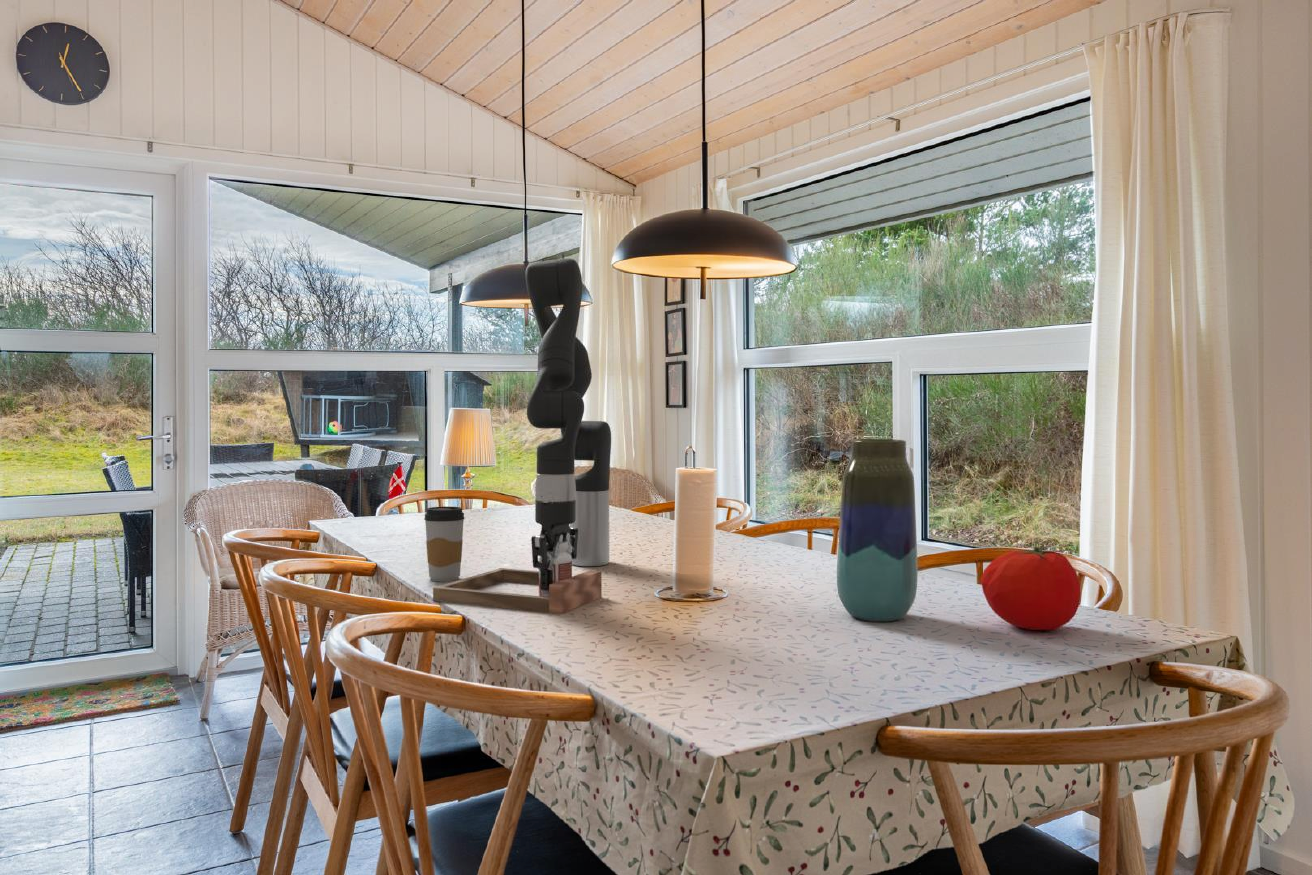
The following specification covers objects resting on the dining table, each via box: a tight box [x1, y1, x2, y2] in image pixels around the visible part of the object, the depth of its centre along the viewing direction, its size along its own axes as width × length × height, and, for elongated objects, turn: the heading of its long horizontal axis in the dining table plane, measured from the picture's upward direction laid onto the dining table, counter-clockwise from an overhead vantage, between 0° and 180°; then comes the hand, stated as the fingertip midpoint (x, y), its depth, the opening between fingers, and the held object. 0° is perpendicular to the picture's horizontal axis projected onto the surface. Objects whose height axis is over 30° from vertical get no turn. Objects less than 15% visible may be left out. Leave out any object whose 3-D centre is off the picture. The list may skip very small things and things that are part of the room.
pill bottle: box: [538, 541, 573, 597], centre depth 176 cm, size 6×6×11 cm
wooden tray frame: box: [432, 567, 603, 615], centre depth 183 cm, size 24×28×5 cm
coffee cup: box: [424, 506, 465, 582], centre depth 199 cm, size 8×8×15 cm
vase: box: [836, 438, 919, 623], centre depth 165 cm, size 14×14×31 cm
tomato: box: [980, 544, 1081, 631], centre depth 158 cm, size 16×14×14 cm
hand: (555, 586), depth 176 cm, fingers closed on pill bottle, 6 cm apart
